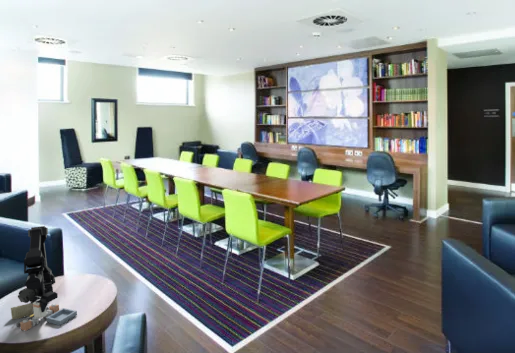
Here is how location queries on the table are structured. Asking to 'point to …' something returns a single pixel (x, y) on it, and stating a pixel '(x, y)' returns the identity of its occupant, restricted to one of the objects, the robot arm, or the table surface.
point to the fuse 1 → (25, 324)
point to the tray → (61, 316)
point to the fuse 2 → (54, 308)
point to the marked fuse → (38, 310)
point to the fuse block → (36, 320)
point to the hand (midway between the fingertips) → (40, 311)
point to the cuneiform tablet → (22, 311)
